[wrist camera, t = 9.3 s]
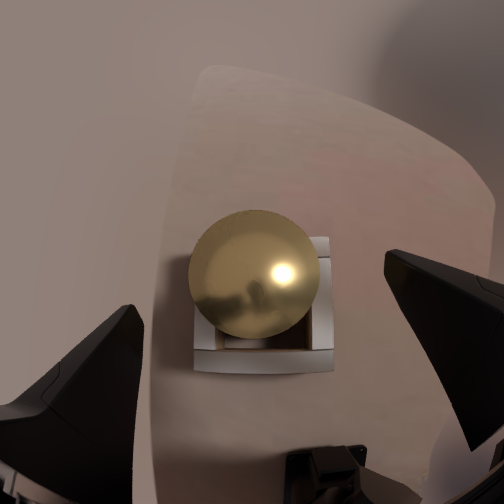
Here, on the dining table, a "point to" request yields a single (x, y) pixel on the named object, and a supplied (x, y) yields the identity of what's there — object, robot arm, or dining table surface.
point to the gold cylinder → (254, 274)
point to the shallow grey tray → (275, 359)
